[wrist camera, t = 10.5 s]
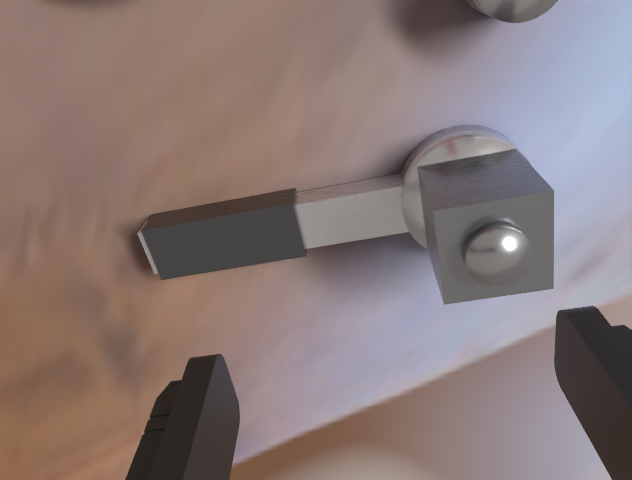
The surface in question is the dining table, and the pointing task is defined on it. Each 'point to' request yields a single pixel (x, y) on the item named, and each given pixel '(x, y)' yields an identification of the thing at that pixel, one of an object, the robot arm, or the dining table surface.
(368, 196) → the ratchet
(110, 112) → the dining table surface
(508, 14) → the socket
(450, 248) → the socket
